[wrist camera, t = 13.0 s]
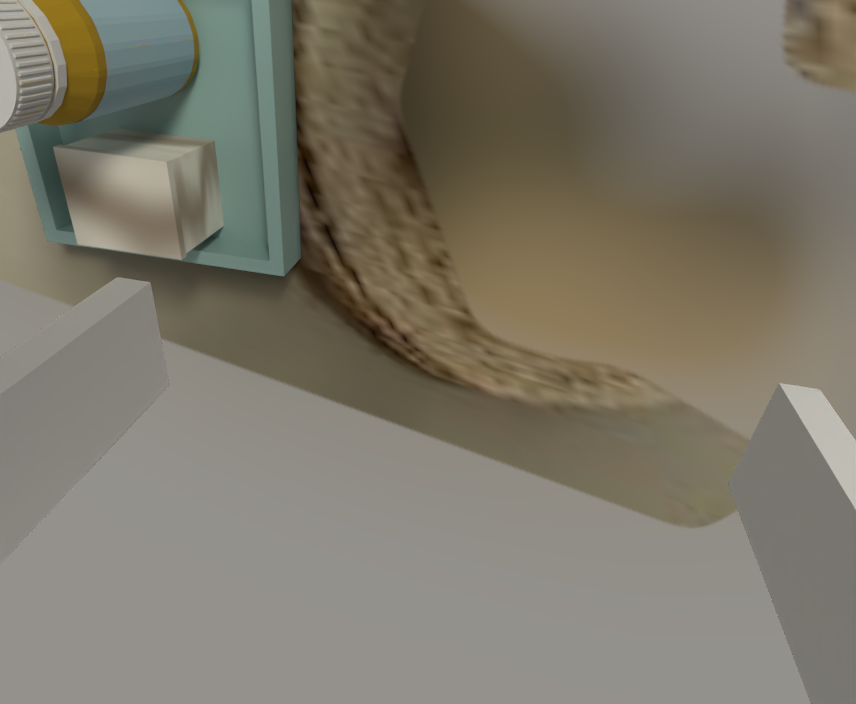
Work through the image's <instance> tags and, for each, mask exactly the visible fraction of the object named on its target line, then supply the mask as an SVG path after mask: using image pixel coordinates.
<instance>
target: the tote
mask: <svg viewBox="0 0 856 704" xmlns="http://www.w3.org/2000/svg"><path fill="white" fill-rule="evenodd" d="M183 2H184V4H185V5H186V7H187V9H188V10H189V12H190V14H191V16H192V18H193V21H194V25H195V28H196V31H197V34H198V42H199V59H198V64H197V68H196V72H195V74H194V76H193V78H192V79H191V81H190V82H189V84H188V85H187V86H186V87H185V88H184V89H182V90H181V91H179V92H178V93H176V94H174V95H171V96H169V97H166V98H162V99H159V100H155V101H152V102H148V103H144V104H141V105H137V106H134V107H130V108H127V109H123V110H119V111H116V112H112V113H109V114H105V115H102V116H98V117H94V118H91V119H87V120H84V121H80V122H76V123H71V124H65V125H60V126H49V125H44V124H39V123H33V124H30V125H26V126H24V127H20V128H16V129H15V130H16V133H17V137H18V140H19V144H20V147H21V151H22V154H23V158H24V161H25V165H26V168H27V172H28V175H29V179H30V182H31V186H32V190H33V193H34V197H35V200H36V204H37V207H38V211H39V214H40V218H41V221H42V225H43V228H44V232H45V235H46V239H47V241H49V242H56V243H62V244H69V245H76V246H83V247H89V248H96V249H103V250H109V251H116V252H123V253H130V254H136V255H143V256H150V257H156V258H163V259H170V260H177V261H183V262H190V263H197V264H204V265H210V266H217V267H224V268H230V269H237V270H244V271H251V272H257V273H264V274H271V275H277V276H285V275H286V274H287V273H288V272H289V271H290V269H291V268H292V267H293V266H294V265H295V264H296V263H297V262H298V261H299V259H300V258H301V235H300V208H299V182H298V155H297V128H296V102H295V75H294V49H293V22H292V0H183ZM117 128H120V129H128V130H136V131H144V132H152V133H159V134H167V135H175V136H183V137H191V138H199V139H206V140H214V141H215V148H216V157H217V166H218V176H219V185H220V194H221V203H222V212H223V221H224V226H223V227H221V228H220V229H219V230H217V231H216V232H215V233H213V234H212V235H211V236H209V237H208V238H207V239H205V240H204V241H203V242H201V243H200V244H199V245H197V246H196V247H194V248H193V249H192V250H190V251H189V252H188V253H186V257H185V258H184V259H182V260H179V259H172V258H165V257H159V256H152V255H145V254H138V253H132V252H125V251H118V250H111V249H105V248H98V247H91V246H85V245H78V244H77V240H76V236H75V232H74V228H73V224H72V220H71V216H70V213H69V209H68V205H67V201H66V197H65V193H64V189H63V185H62V181H61V177H60V173H59V170H58V166H57V162H56V158H55V154H54V150H53V147H54V146H57V145H68V144H71V143H74V142H77V141H80V140H83V139H86V138H89V137H92V136H95V135H98V134H102V133H105V132H108V131H111V130H114V129H117Z"/></svg>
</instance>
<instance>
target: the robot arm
mask: <svg viewBox="0 0 856 704" xmlns="http://www.w3.org/2000/svg"><path fill="white" fill-rule="evenodd" d="M168 386H169V380H168V375H167V369H166V365H165V358H164V353H163V348H162V342H161V337H160V331H159V326H158V320H157V315H156V310H155V304H154V299H153V293H152V288H151V282H146V281H139V280H133V279H127V278H121V277H117V278H115V279H114V280H112V281H111V282H109V283H108V284H106V285H105V286H103V287H102V288H100V289H99V290H97V291H96V292H94V293H93V294H92V295H90V296H89V297H87V298H86V299H84V300H83V301H81V302H80V303H78V304H77V305H75V306H74V307H72V308H71V309H69V310H68V311H66V312H65V313H63V314H62V315H60V316H59V317H58V318H56V319H55V320H53V321H52V322H50V323H49V324H47V325H46V326H44V327H43V328H41V329H40V330H38V331H37V332H35V333H34V334H33V335H31V336H30V337H28V338H27V339H25V340H24V341H22V342H21V343H19V344H18V345H16V346H15V347H13V348H12V349H10V350H9V351H8V352H6V353H4V354H3V355H2V356H0V565H1V564H2V563H3V561H4V560H5V559H6V558H7V557H8V556H9V555H10V554H11V553H12V552H13V551H14V550H15V549H16V548H17V547H18V545H19V544H20V543H21V542H22V541H23V540H24V539H25V538H26V537H27V536H28V535H29V534H30V533H31V532H32V531H33V530H34V529H35V527H36V526H37V525H38V524H39V523H40V522H41V521H42V520H43V519H44V518H45V517H46V516H47V515H48V514H49V513H50V511H51V510H52V509H53V508H54V507H55V506H56V505H57V504H58V503H59V502H60V501H61V500H62V499H63V498H64V497H65V496H66V495H67V493H68V492H69V491H70V490H71V489H72V488H73V487H74V486H75V485H76V484H77V483H78V482H79V481H80V480H81V479H82V478H83V476H84V475H85V474H86V473H87V472H88V471H89V470H90V469H91V468H92V467H93V466H94V465H95V464H96V463H97V462H98V460H100V458H101V457H102V456H103V455H104V454H105V453H106V452H107V451H108V450H109V449H110V448H111V447H112V446H113V445H114V444H115V443H116V441H117V440H118V439H119V438H120V437H121V436H122V435H123V434H124V433H125V432H126V431H127V430H128V429H129V428H130V427H131V425H132V424H133V423H134V422H135V421H136V420H137V419H138V418H139V417H140V416H141V415H142V414H143V413H144V412H145V411H146V410H147V408H148V407H149V406H150V405H151V404H152V403H153V402H154V401H155V400H156V399H157V398H158V397H159V396H160V395H161V394H162V393H163V392H164V390H165V389H166V388H167V387H168ZM728 485H729V488H730V491H731V493H732V496H733V499H734V501H735V504H736V507H737V509H738V512H739V515H740V517H741V520H742V522H743V525H744V527H745V530H746V533H747V536H748V538H749V541H750V544H751V546H752V549H753V552H754V554H755V557H756V559H757V562H758V565H759V567H760V570H761V572H762V575H763V578H764V580H765V583H766V586H767V589H768V591H769V594H770V596H771V599H772V602H773V604H774V607H775V610H776V612H777V615H778V618H779V620H780V623H781V626H782V628H783V631H784V634H785V636H786V639H787V641H788V644H789V647H790V649H791V652H792V655H793V657H794V660H795V663H796V665H797V668H798V671H799V673H800V676H801V678H802V681H803V683H804V686H805V689H806V692H807V694H808V697H809V700H810V702H811V704H856V441H855V439H854V438H853V437H852V435H851V434H850V432H849V431H848V429H847V428H846V427H845V425H844V424H843V422H842V421H841V420H840V418H839V417H838V415H837V414H836V412H835V411H834V410H833V408H832V406H831V405H830V404H829V402H828V401H827V399H826V398H825V397H824V395H823V394H822V392H821V391H820V390H819V389H813V388H807V387H801V386H795V385H788V384H782V383H779V384H778V386H777V388H776V390H775V392H774V394H773V396H772V398H771V400H770V402H769V404H768V406H767V408H766V410H765V412H764V414H763V416H762V418H761V420H760V422H759V424H758V425H757V427H756V429H755V431H754V433H753V435H752V438H751V439H750V441H749V443H748V445H747V447H746V449H745V451H744V453H743V455H742V457H741V459H740V461H739V463H738V465H737V467H736V469H735V471H734V473H733V475H732V477H731V479H730V481H729V483H728Z"/></svg>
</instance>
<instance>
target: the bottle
mask: <svg viewBox="0 0 856 704" xmlns="http://www.w3.org/2000/svg"><path fill="white" fill-rule="evenodd" d="M198 59H199V42H198V34H197V31H196V28H195V25H194V21H193V18H192V16H191V14H190V12H189V10H188V9H187V7H186V5H185V4H184V2H183V0H0V132H4V131H8V130H12V129H16V128H20V127H24V126H26V125H30V124H33V123H39V124H44V125H49V126H60V125H65V124H71V123H76V122H80V121H84V120H87V119H91V118H94V117H98V116H102V115H105V114H109V113H112V112H116V111H119V110H123V109H127V108H130V107H134V106H137V105H141V104H144V103H148V102H152V101H155V100H159V99H162V98H166V97H169V96H171V95H174V94H176V93H178V92H179V91H181V90H182V89H184V88H185V87H186V86H187V85H188V84H189V82H190V81H191V79H192V78H193V76H194V74H195V72H196V68H197V64H198Z"/></svg>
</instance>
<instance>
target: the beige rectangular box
mask: <svg viewBox="0 0 856 704" xmlns="http://www.w3.org/2000/svg"><path fill="white" fill-rule="evenodd" d="M53 150H54V154H55V158H56V162H57V166H58V170H59V173H60V177H61V181H62V185H63V189H64V193H65V197H66V201H67V205H68V209H69V213H70V216H71V220H72V224H73V228H74V232H75V236H76V240H77V244H78V245H85V246H91V247H98V248H105V249H111V250H118V251H125V252H132V253H138V254H145V255H152V256H159V257H165V258H172V259H179V260H182V259H184V258H185V257H186V253H188V252H189V251H190V250H192V249H193V248H194V247H196V246H197V245H199V244H200V243H201V242H203V241H204V240H205V239H207V238H208V237H209V236H211V235H212V234H213V233H215V232H216V231H217V230H219V229H220V228H221V227H223V226H224V221H223V212H222V203H221V194H220V185H219V176H218V166H217V157H216V148H215V141H214V140H206V139H199V138H191V137H183V136H175V135H167V134H159V133H152V132H144V131H136V130H128V129H120V128H117V129H114V130H111V131H108V132H105V133H102V134H98V135H95V136H92V137H89V138H86V139H83V140H80V141H77V142H74V143H71V144H68V145H57V146H54V147H53Z"/></svg>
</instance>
